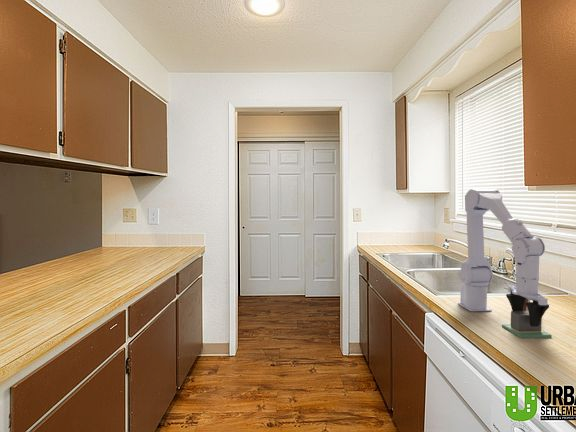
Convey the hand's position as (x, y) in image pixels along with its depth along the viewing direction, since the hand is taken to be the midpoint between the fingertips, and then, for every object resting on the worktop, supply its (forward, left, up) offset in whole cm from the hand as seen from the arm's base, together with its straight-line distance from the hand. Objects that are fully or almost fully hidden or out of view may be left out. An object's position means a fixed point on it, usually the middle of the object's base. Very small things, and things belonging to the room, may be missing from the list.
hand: (525, 321), depth 108 cm
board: (0, 0, -3) cm, 3 cm away
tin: (-14, +9, -3) cm, 17 cm away
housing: (0, 0, -2) cm, 2 cm away
